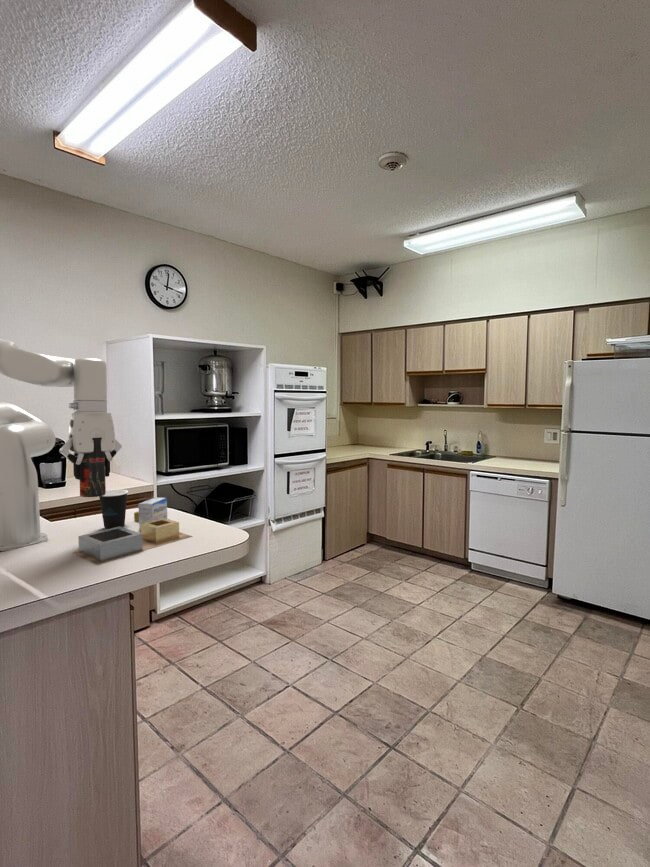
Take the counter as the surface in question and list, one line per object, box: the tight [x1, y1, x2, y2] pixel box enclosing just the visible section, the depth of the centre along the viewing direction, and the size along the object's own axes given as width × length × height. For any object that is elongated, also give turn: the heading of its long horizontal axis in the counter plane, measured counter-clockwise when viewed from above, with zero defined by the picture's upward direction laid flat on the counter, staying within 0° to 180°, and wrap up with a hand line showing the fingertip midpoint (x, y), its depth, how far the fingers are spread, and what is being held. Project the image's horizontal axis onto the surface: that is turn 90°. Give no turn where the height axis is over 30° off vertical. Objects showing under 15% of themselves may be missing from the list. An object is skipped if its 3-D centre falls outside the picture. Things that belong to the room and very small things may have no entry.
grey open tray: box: [78, 526, 143, 562], centre depth 114 cm, size 10×10×4 cm
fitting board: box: [72, 531, 194, 565], centre depth 119 cm, size 12×26×1 cm, turn 142°
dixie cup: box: [98, 488, 129, 529], centre depth 135 cm, size 8×8×11 cm
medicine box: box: [137, 497, 168, 531], centre depth 135 cm, size 8×4×9 cm, turn 168°
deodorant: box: [79, 437, 107, 498], centre depth 120 cm, size 6×6×15 cm
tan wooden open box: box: [140, 518, 180, 543], centre depth 125 cm, size 7×7×4 cm
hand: (92, 476), depth 120 cm, fingers closed on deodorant, 5 cm apart
